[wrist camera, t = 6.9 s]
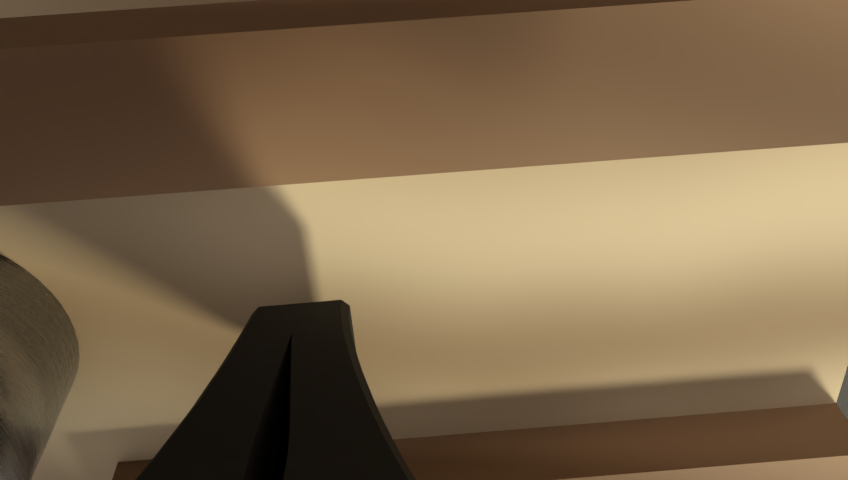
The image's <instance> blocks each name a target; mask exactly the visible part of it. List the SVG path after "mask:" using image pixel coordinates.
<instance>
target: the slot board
mask: <svg viewBox="0 0 848 480" xmlns="http://www.w3.org/2000/svg"><path fill="white" fill-rule="evenodd" d="M0 255H2V256H4V257H6V258H8V259H10V260H11V261H13V262H15V263H16V264H18V265H19V266H21V267H22V268H24V269H25V270H27V271H28V272H29V273H31V274H32V275H33V276H34V277H36V278H37V279H38V280H39V281H40V282H41V283H43V284H44V285H45V286H46V287H47V288H48V289H49V290H50V291H51V292H52V294H53V295H54V296H55V297H56V299H57V300H58V301H59V302H60V303H61V305H62V306H63V308H64V309H65V311H66V313H67V314H68V316H69V318H70V320H71V322H72V324H73V327H74V329H75V332H76V336H77V340H78V343H79V355H80V357H79V366H78V371H77V374H76V377H75V380H74V383H73V385H72V387H71V389H70V392H69V394H68V396H67V399H66V401H65V403H64V405H63V408H62V410H61V412H60V415H59V417H58V419H57V422H56V424H55V426H54V428H53V431H52V433H51V435H50V438H49V440H48V442H47V445H46V447H45V449H44V451H43V454H42V456H41V458H40V461H39V463H38V465H37V468H36V470H35V472H34V474H33V477H32V479H31V480H135V479H136V478H137V477H138V475H139V474H140V473H141V472H142V471H143V470H144V468H145V467H146V466H147V465H148V464H149V462H150V461H151V460H152V459H153V458H154V456H155V455H156V454H157V453H158V451H159V450H160V449H161V448H162V446H163V445H164V444H165V442H166V441H167V440H168V438H169V437H170V436H171V435H172V433H173V432H174V431H175V429H176V428H177V427H178V426H179V424H180V423H181V422H182V420H183V419H184V418H185V417H186V415H187V414H188V412H189V411H190V410H191V408H192V407H193V406H194V404H195V403H196V401H197V400H198V398H199V397H200V395H201V394H202V392H203V391H204V390H205V388H206V387H207V385H208V384H209V382H210V381H211V379H212V378H213V376H214V375H215V374H216V372H217V371H218V369H219V367H220V366H221V364H222V363H223V361H224V360H225V358H226V356H227V355H228V353H229V352H230V350H231V349H232V347H233V345H234V344H235V342H236V340H237V339H238V337H239V335H240V334H241V332H242V330H243V329H244V327H245V325H246V324H247V322H248V320H249V318H250V317H251V315H252V313H253V312H254V311H255V310H256V309H257V308H258V307H261V306H273V305H285V304H296V303H308V302H320V301H332V300H343V301H344V302H345V303H347V304H348V305H350V310H351V318H352V325H353V332H354V339H355V346H356V353H357V356H358V360H359V362H360V365H361V368H362V371H363V374H364V376H365V379H366V381H367V384H368V386H369V389H370V391H371V394H372V396H373V399H374V401H375V403H376V406H377V408H378V410H379V412H380V414H381V417H382V419H383V421H384V423H385V425H386V427H387V429H388V431H389V433H390V435H391V437H392V439H393V441H394V442H395V444H396V446H397V448H398V450H399V452H400V453H401V455H402V457H403V459H404V461H405V462H406V464H407V466H408V467H409V469H410V471H411V472H412V474H413V476H414V477H415V479H416V480H848V420H847V419H846V417H845V416H844V414H843V413H842V411H841V410H840V408H839V407H838V406H837V404H836V401H837V398H838V395H839V392H840V388H841V385H842V382H843V379H844V376H845V372H846V369H847V366H848V0H0Z"/></svg>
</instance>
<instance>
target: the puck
mask: <svg viewBox="0 0 848 480" xmlns="http://www.w3.org/2000/svg"><path fill="white" fill-rule="evenodd" d="M79 357H80V355H79V343H78V340H77V336H76V332H75V329H74V327H73V324H72V322H71V320H70V318H69V316H68V314H67V313H66V311H65V309H64V308H63V306H62V305H61V303H60V302H59V301H58V300H57V299H56V297H55V296H54V295H53V294H52V292H51V291H50V290H49V289H48V288H47V287H46V286H45V285H44V284H43V283H41V282H40V281H39V280H38V279H37V278H36V277H34V276H33V275H32V274H31V273H29V272H28V271H27V270H25V269H24V268H22V267H21V266H19V265H18V264H16V263H15V262H13V261H11V260H10V259H8V258H6V257H4V256H2V255H0V480H31V479H32V477H33V474H34V472H35V470H36V468H37V465H38V463H39V461H40V458H41V456H42V454H43V451H44V449H45V447H46V445H47V442H48V440H49V438H50V435H51V433H52V431H53V428H54V426H55V424H56V422H57V419H58V417H59V415H60V412H61V410H62V408H63V405H64V403H65V401H66V399H67V396H68V394H69V392H70V389H71V387H72V385H73V383H74V380H75V377H76V374H77V371H78V366H79Z"/></svg>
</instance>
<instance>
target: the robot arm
mask: <svg viewBox="0 0 848 480" xmlns="http://www.w3.org/2000/svg"><path fill="white" fill-rule="evenodd" d="M135 480H416V479H415V477H414V476H413V474H412V472H411V471H410V469H409V467H408V466H407V464H406V462H405V461H404V459H403V457H402V455H401V453H400V452H399V450H398V448H397V446H396V444H395V442H394V441H393V439H392V437H391V435H390V433H389V431H388V429H387V427H386V425H385V423H384V421H383V419H382V417H381V414H380V412H379V410H378V408H377V406H376V403H375V401H374V399H373V396H372V394H371V391H370V389H369V386H368V384H367V381H366V379H365V376H364V374H363V371H362V368H361V365H360V362H359V360H358V356H357V353H356V346H355V339H354V332H353V325H352V318H351V310H350V305H348V304H347V303H345V302H344V301H343V300H332V301H320V302H308V303H296V304H285V305H273V306H261V307H258V308H257V309H256V310H255V311H254V312H253V313H252V315H251V317H250V318H249V320H248V322H247V324H246V325H245V327H244V329H243V330H242V332H241V334H240V335H239V337H238V339H237V340H236V342H235V344H234V345H233V347H232V349H231V350H230V352H229V353H228V355H227V356H226V358H225V360H224V361H223V363H222V364H221V366H220V367H219V369H218V371H217V372H216V374H215V375H214V376H213V378H212V379H211V381H210V382H209V384H208V385H207V387H206V388H205V390H204V391H203V392H202V394H201V395H200V397H199V398H198V400H197V401H196V403H195V404H194V406H193V407H192V408H191V410H190V411H189V412H188V414H187V415H186V417H185V418H184V419H183V420H182V422H181V423H180V424H179V426H178V427H177V428H176V429H175V431H174V432H173V433H172V435H171V436H170V437H169V438H168V440H167V441H166V442H165V444H164V445H163V446H162V448H161V449H160V450H159V451H158V453H157V454H156V455H155V456H154V458H153V459H152V460H151V461H150V462H149V464H148V465H147V466H146V467H145V468H144V470H143V471H142V472H141V473H140V474H139V475H138V477H137V478H136V479H135Z"/></svg>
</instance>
